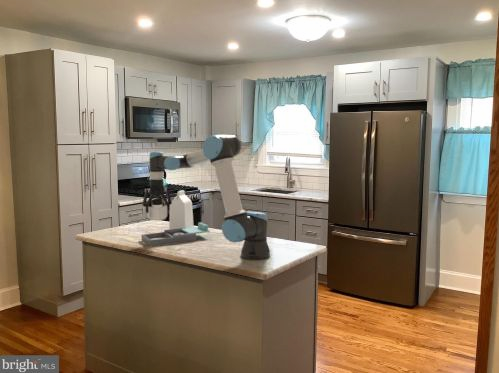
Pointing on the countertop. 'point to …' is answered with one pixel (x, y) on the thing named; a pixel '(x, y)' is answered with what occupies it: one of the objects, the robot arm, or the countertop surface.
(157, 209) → the medicine bottle
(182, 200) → the milk
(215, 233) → the countertop surface
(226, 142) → the robot arm
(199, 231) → the lid
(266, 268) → the countertop surface
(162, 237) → the housing
